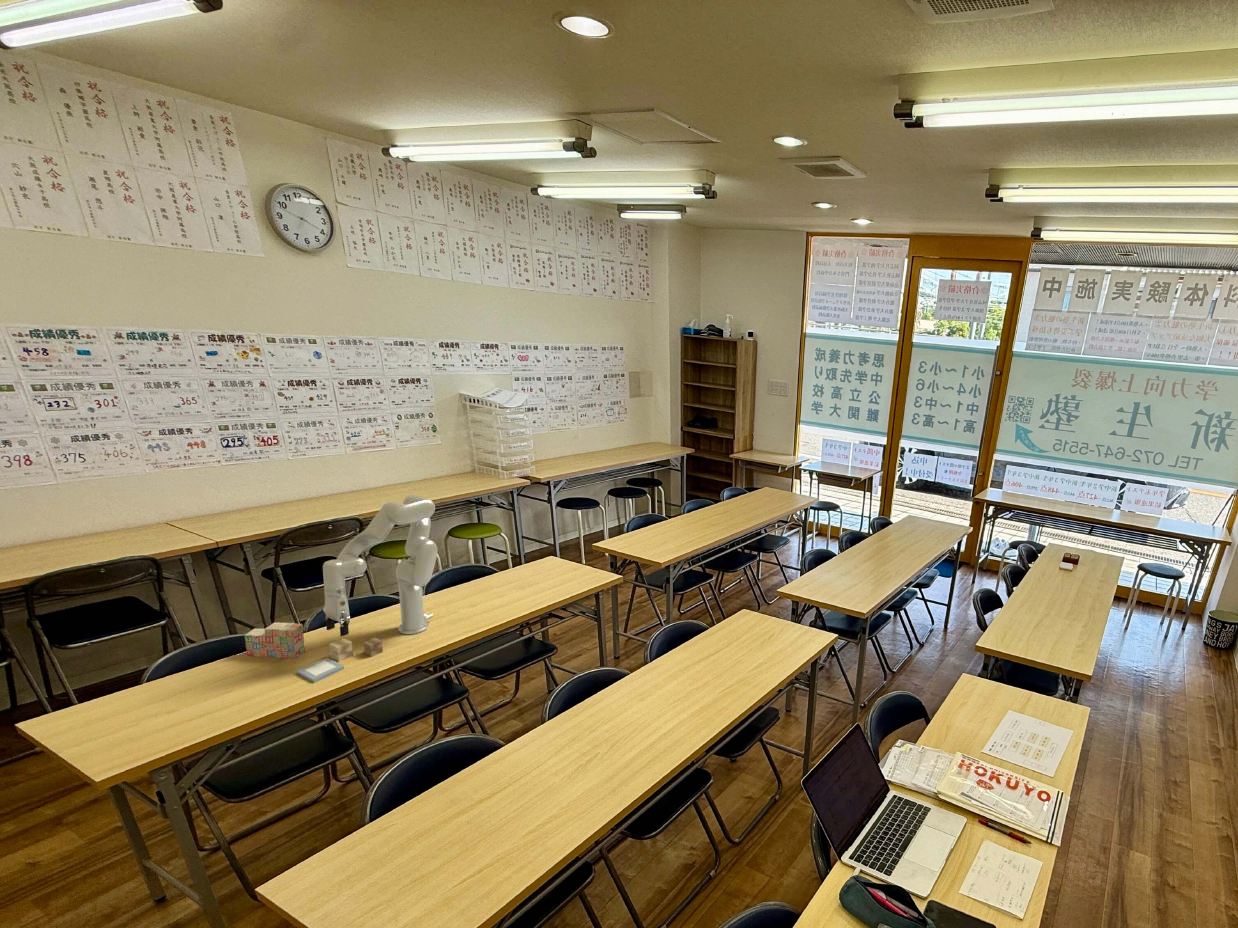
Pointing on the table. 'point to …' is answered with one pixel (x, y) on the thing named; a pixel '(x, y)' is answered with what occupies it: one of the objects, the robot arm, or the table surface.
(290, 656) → the stack of blocks
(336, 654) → the oak block
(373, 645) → the walnut cube
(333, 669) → the base board
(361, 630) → the table surface
